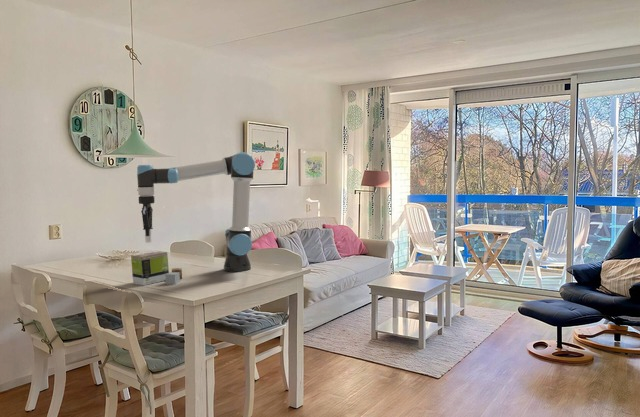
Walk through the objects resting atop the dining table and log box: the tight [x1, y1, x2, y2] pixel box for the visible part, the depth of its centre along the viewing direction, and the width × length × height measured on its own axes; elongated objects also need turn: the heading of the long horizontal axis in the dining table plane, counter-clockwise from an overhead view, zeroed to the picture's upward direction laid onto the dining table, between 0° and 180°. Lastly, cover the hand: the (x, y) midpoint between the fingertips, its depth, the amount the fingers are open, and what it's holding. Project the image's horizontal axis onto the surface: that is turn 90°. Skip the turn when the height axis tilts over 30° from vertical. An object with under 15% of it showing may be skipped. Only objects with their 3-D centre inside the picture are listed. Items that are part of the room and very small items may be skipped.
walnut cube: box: [171, 267, 183, 280], centre depth 254 cm, size 5×5×5 cm
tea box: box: [130, 250, 170, 286], centre depth 248 cm, size 15×10×15 cm
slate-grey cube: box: [165, 271, 181, 285], centre depth 243 cm, size 5×5×5 cm
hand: (148, 242), depth 247 cm, fingers closed
